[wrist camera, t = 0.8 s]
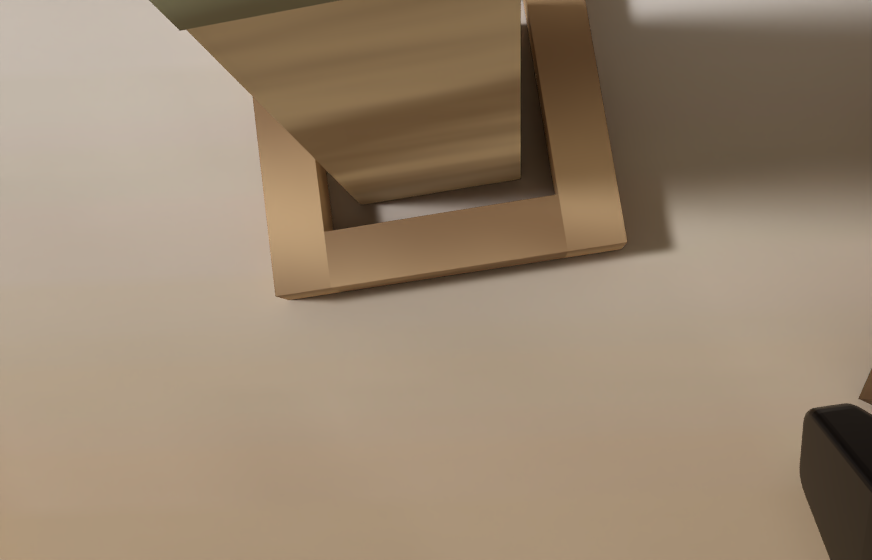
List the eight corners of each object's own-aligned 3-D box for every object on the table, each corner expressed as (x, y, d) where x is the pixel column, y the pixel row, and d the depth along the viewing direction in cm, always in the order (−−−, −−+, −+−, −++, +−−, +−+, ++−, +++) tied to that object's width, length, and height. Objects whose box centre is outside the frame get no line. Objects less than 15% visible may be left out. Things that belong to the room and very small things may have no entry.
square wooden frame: (621, 249, 21) (627, 241, 19) (289, 300, 21) (275, 295, 20) (566, -69, 22) (569, -94, 21) (252, -9, 23) (238, -30, 21)
